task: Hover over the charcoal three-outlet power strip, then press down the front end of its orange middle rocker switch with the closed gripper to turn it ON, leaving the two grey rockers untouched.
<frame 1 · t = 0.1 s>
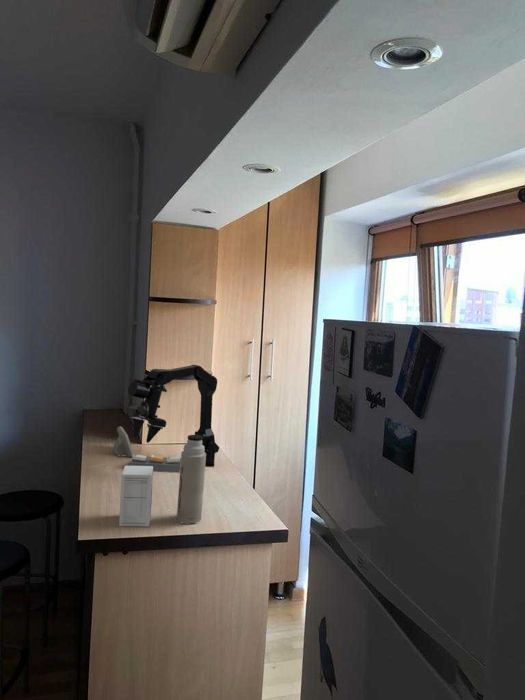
hand: (141, 439, 215), 15 cm above the countertop, tool pointing down, fingers open, 9 cm apart
thermos bottle: (188, 520, 181), on the countertop
grey tapered fin: (124, 453, 247), on the countertop
rocker 1: (139, 457, 228), point 5 cm above the countertop, hinge at -8.0°
supplement box: (135, 521, 176), on the countertop
power strip: (156, 467, 231), on the countertop
middle rocker: (156, 458, 229), point 5 cm above the countertop, hinge at -8.0°
rocker 2: (173, 459, 229), point 5 cm above the countertop, hinge at 8.0°
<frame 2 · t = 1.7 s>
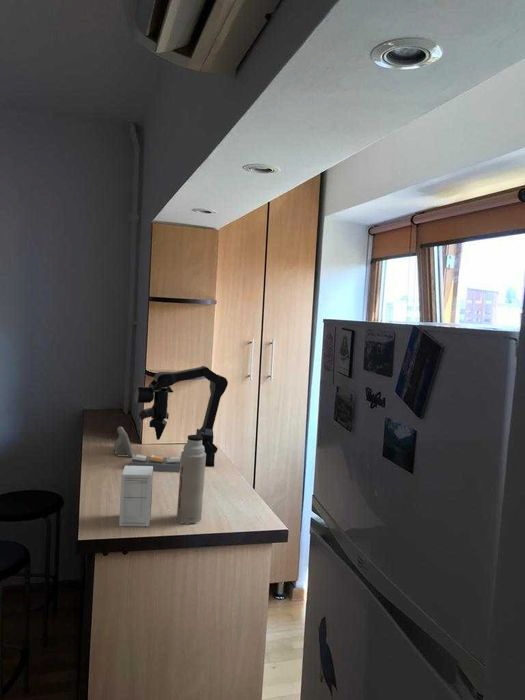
hand: (158, 439, 230), 12 cm above the countertop, tool pointing down, fingers closed
nothing on the countertop moved.
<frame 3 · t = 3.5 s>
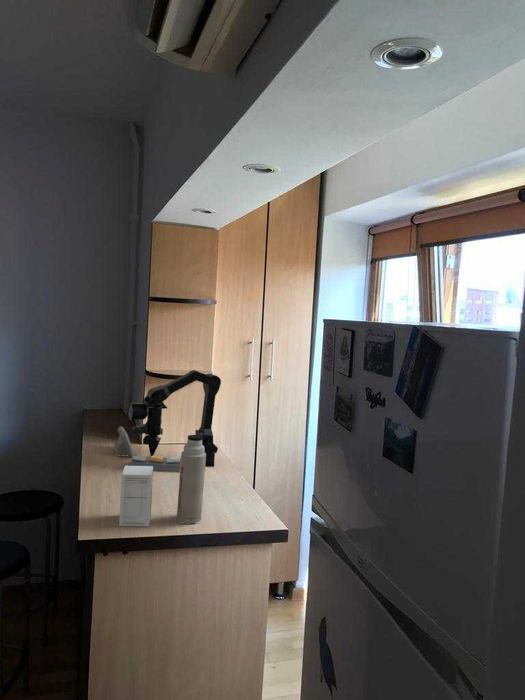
hand: (151, 455, 228), 5 cm above the countertop, tool pointing down, fingers closed, pressing on middle rocker
middle rocker: (156, 458, 229), point 5 cm above the countertop, hinge at -8.0°, touching gripper
everything else where it was.
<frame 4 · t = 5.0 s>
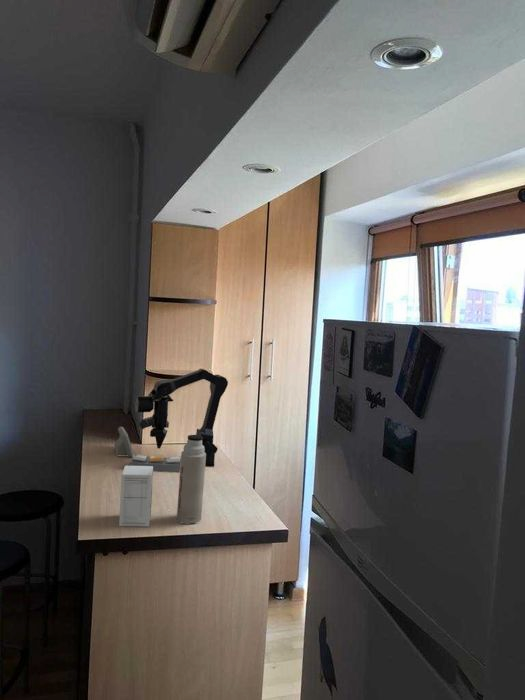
hand: (158, 448, 231), 8 cm above the countertop, tool pointing down, fingers closed
middle rocker: (156, 458, 229), point 5 cm above the countertop, hinge at 8.3°
everything else where it was.
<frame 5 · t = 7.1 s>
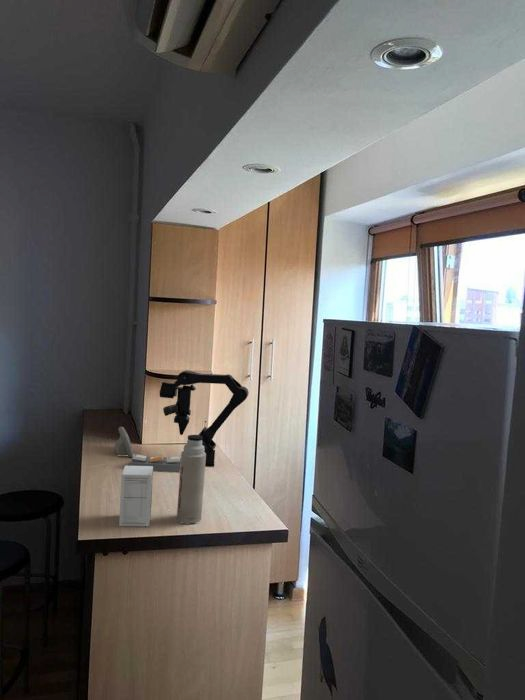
hand: (181, 434, 241), 12 cm above the countertop, tool pointing down, fingers closed
middle rocker: (156, 458, 229), point 5 cm above the countertop, hinge at 16.3°, touching power strip
everything else where it was.
at the end: middle rocker at +16° (first picture: -8°); rocker 2 at +8° (first picture: +8°); rocker 1 at -8° (first picture: -8°) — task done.
